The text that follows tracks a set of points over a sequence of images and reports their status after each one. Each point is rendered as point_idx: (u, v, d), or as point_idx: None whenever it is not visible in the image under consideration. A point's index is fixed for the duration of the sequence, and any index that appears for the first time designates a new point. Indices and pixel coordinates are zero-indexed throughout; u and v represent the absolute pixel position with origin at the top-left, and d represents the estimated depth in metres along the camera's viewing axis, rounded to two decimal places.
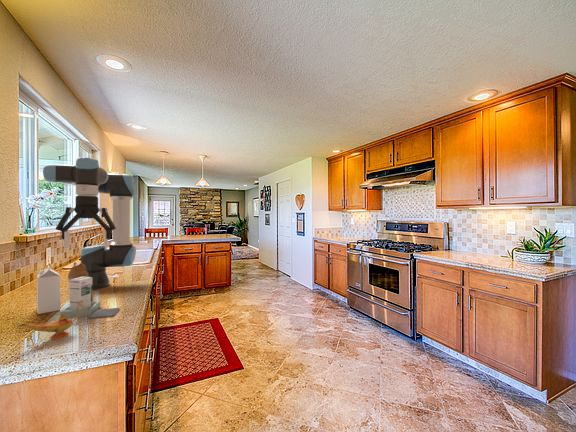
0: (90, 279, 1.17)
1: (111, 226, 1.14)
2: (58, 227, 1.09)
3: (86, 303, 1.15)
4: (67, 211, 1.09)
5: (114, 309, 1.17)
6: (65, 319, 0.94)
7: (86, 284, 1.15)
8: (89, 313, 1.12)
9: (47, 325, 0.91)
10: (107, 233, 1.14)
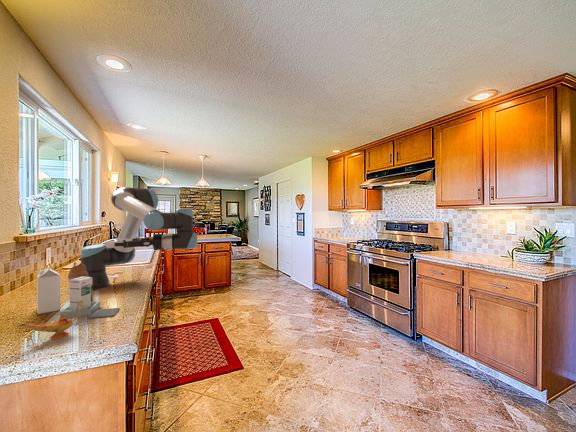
0: (90, 279, 1.17)
1: None
2: (126, 247, 1.17)
3: (86, 303, 1.15)
4: (144, 246, 1.21)
5: (114, 309, 1.17)
6: (65, 319, 0.94)
7: (86, 284, 1.15)
8: (89, 313, 1.12)
9: (47, 325, 0.91)
10: None
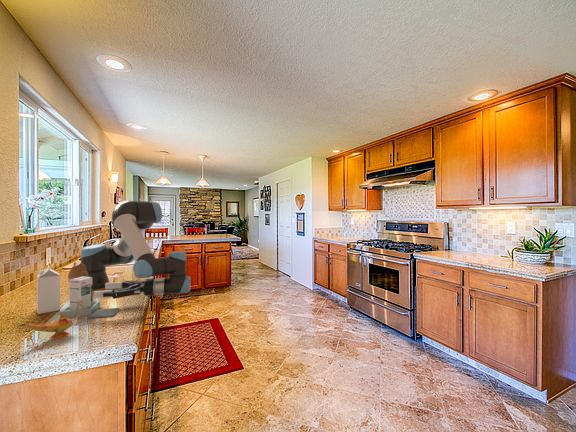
0: (90, 279, 1.17)
1: None
2: None
3: (86, 303, 1.15)
4: None
5: (114, 309, 1.17)
6: (65, 319, 0.94)
7: (86, 284, 1.15)
8: (89, 313, 1.12)
9: (47, 325, 0.91)
10: None
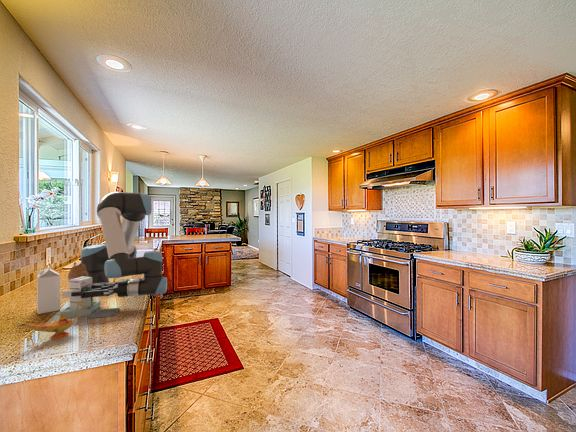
0: (90, 279, 1.17)
1: None
2: None
3: (86, 303, 1.15)
4: None
5: (114, 309, 1.17)
6: (65, 319, 0.94)
7: (86, 283, 1.15)
8: (89, 313, 1.12)
9: (47, 325, 0.91)
10: None
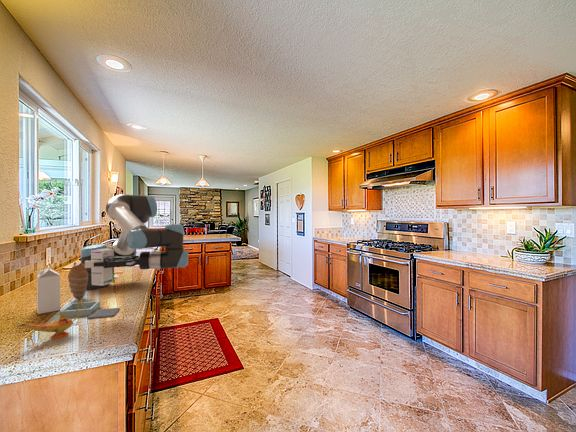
0: (112, 251, 1.15)
1: None
2: (107, 267, 1.09)
3: (108, 274, 1.13)
4: None
5: (114, 309, 1.17)
6: (65, 319, 0.94)
7: (108, 255, 1.13)
8: (89, 313, 1.12)
9: (47, 325, 0.91)
10: None
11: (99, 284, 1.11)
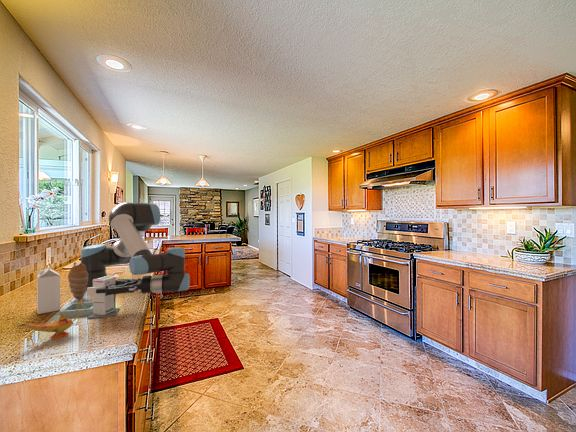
0: (113, 279, 1.15)
1: None
2: None
3: (110, 303, 1.13)
4: None
5: None
6: (65, 319, 0.94)
7: (109, 283, 1.13)
8: (89, 313, 1.12)
9: (47, 325, 0.91)
10: None
11: (101, 313, 1.11)
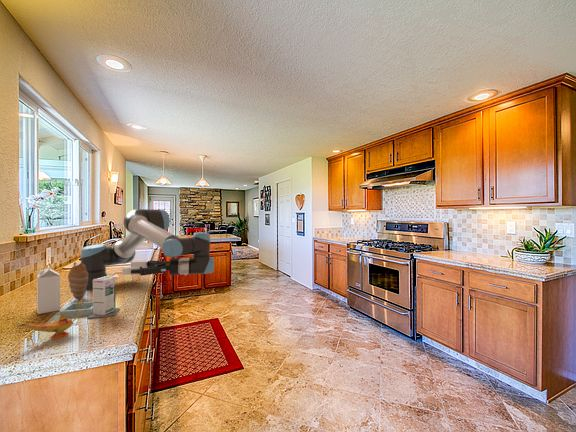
0: (113, 279, 1.15)
1: None
2: None
3: (110, 303, 1.13)
4: None
5: None
6: (65, 319, 0.94)
7: (109, 283, 1.13)
8: (89, 313, 1.12)
9: (47, 325, 0.91)
10: None
11: (101, 313, 1.11)
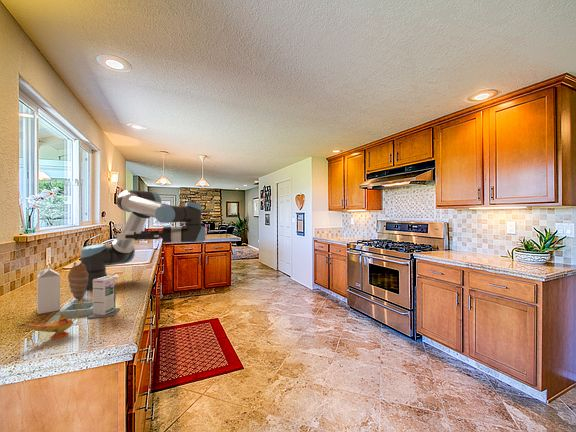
0: (113, 279, 1.15)
1: None
2: (137, 239, 1.18)
3: (110, 303, 1.13)
4: (154, 238, 1.23)
5: None
6: (65, 319, 0.94)
7: (109, 283, 1.13)
8: (89, 313, 1.12)
9: (47, 325, 0.91)
10: None
11: (101, 313, 1.11)
